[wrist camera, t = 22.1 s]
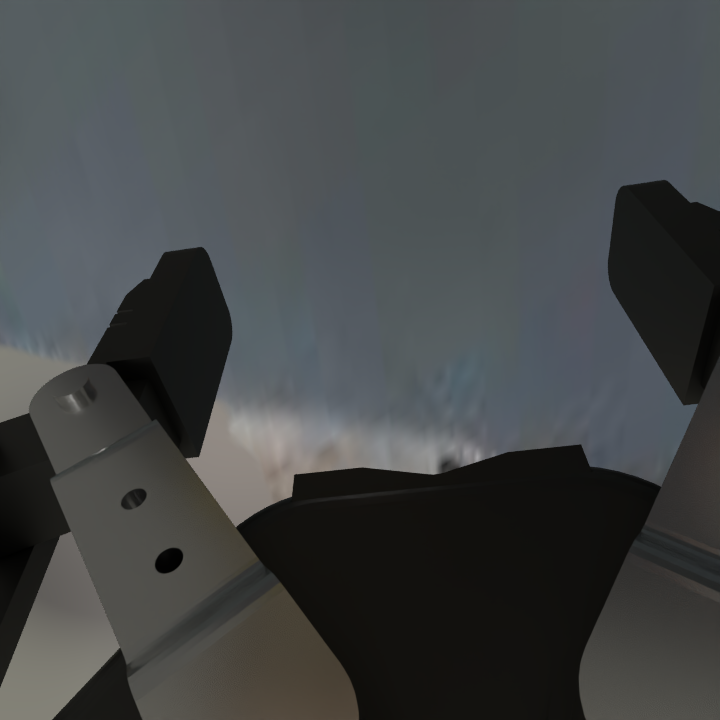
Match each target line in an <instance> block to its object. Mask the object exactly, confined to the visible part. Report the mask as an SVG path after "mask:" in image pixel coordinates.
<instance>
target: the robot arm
mask: <svg viewBox="0 0 720 720" xmlns="http://www.w3.org/2000/svg"><path fill="white" fill-rule="evenodd" d="M608 275H609V281H610V285H611V288H612V291H613V293H614V294H615V296H616V298H617V299H618V301H619V302H620V304H621V306H622V307H623V309H624V310H625V312H626V314H627V315H628V317H629V319H630V320H631V322H632V323H633V325H634V327H635V328H636V330H637V331H638V333H639V335H640V336H641V338H642V339H643V341H644V343H645V344H646V346H647V348H648V349H649V351H650V352H651V354H652V356H653V357H654V359H655V360H656V362H657V364H658V365H659V367H660V368H661V370H662V372H663V373H664V375H665V376H666V378H667V380H668V381H669V383H670V385H671V386H672V388H673V389H674V391H675V393H676V394H677V396H678V397H679V399H680V401H681V402H682V404H683V405H690V404H698V406H697V408H696V410H695V412H694V415H693V417H692V419H691V421H690V424H689V426H688V428H687V430H686V433H685V435H684V437H683V439H682V442H681V444H680V446H679V448H678V451H677V453H676V455H675V457H674V460H673V462H672V464H671V466H670V469H669V471H668V473H667V475H666V478H665V480H664V482H663V484H662V487H660V486H658V485H656V484H654V483H651V482H649V481H646V480H644V479H641V478H639V477H636V476H633V475H629V474H626V473H622V472H619V471H614V470H609V469H604V468H598V467H590V466H589V464H588V461H587V458H586V456H585V453H584V451H583V448H582V446H581V445H572V446H562V447H553V448H543V449H534V450H524V451H515V452H507V453H504V454H501V455H498V456H495V457H492V458H488V459H485V460H482V461H479V462H476V463H473V464H470V465H467V466H464V467H460V468H457V469H454V470H451V471H448V472H445V473H441V474H434V475H431V474H419V473H410V472H400V471H391V470H381V469H371V468H353V469H344V470H334V471H325V472H315V473H306V474H296V475H294V483H293V492H292V497H290V498H287V499H284V500H281V501H279V502H277V503H275V504H272V505H270V506H268V507H266V508H264V509H263V510H261V511H259V512H257V513H256V514H254V515H252V516H251V517H249V518H248V519H247V520H245V521H244V522H242V523H241V524H239V525H238V526H237V527H235V526H234V525H233V523H232V522H231V520H230V519H229V518H228V516H227V515H226V514H225V512H224V511H223V509H222V508H221V507H220V505H219V504H218V503H217V501H216V500H215V499H214V497H213V496H212V494H211V493H210V492H209V490H208V489H207V488H206V486H205V485H204V484H203V482H202V481H201V479H200V478H199V477H198V475H197V474H196V473H195V471H194V470H193V469H192V467H191V466H190V464H189V463H188V462H187V460H186V459H185V458H193V457H199V455H200V452H201V448H202V445H203V441H204V438H205V434H206V430H207V427H208V423H209V419H210V416H211V412H212V409H213V405H214V402H215V398H216V395H217V391H218V387H219V384H220V380H221V377H222V373H223V370H224V366H225V362H226V359H227V355H228V352H229V348H230V345H231V341H232V323H231V317H230V313H229V310H228V307H227V304H226V302H225V299H224V296H223V293H222V291H221V288H220V285H219V282H218V279H217V277H216V274H215V271H214V268H213V266H212V263H211V260H210V258H209V255H208V253H207V252H206V250H205V249H204V248H202V247H197V248H191V249H184V250H177V251H170V252H165V253H164V254H163V255H162V257H161V259H160V261H159V263H158V265H157V266H156V268H155V270H154V272H153V274H152V276H151V278H150V279H145V280H143V281H142V282H141V283H139V284H138V285H137V286H136V287H135V288H134V289H133V290H131V291H130V292H129V293H128V294H127V295H126V296H125V298H124V300H123V301H122V303H121V305H120V307H119V308H118V310H117V313H118V314H115V316H114V317H113V319H112V321H111V323H110V327H109V328H107V330H106V331H105V333H104V335H103V337H102V338H101V340H100V342H99V344H98V346H97V347H96V349H95V351H94V353H93V354H92V356H91V358H90V360H89V361H88V363H87V365H83V366H79V367H76V368H73V369H71V370H68V371H66V372H64V373H62V374H60V375H58V376H56V377H54V378H53V379H52V380H50V381H49V382H47V383H46V384H45V385H44V386H43V387H41V389H40V390H39V391H38V392H37V393H36V394H35V395H34V397H33V399H32V400H31V403H30V406H29V413H28V414H25V415H22V416H19V417H16V418H13V419H10V420H7V421H4V422H1V423H0V686H1V684H2V682H3V679H4V676H5V674H6V671H7V669H8V666H9V664H10V661H11V659H12V656H13V654H14V651H15V649H16V646H17V643H18V641H19V639H20V636H21V633H22V631H23V628H24V626H25V623H26V621H27V618H28V616H29V613H30V611H31V608H32V606H33V603H34V601H35V598H36V596H37V593H38V590H39V588H40V585H41V583H42V580H43V578H44V575H45V573H46V570H47V568H48V565H49V563H50V560H51V557H52V555H53V553H54V550H55V547H56V545H57V542H58V540H59V537H60V535H63V534H66V533H68V532H72V535H73V537H74V539H75V542H76V544H77V546H78V549H79V551H80V554H81V556H82V558H83V561H84V563H85V565H86V568H87V570H88V572H89V575H90V577H91V580H92V582H93V584H94V587H95V589H96V591H97V594H98V596H99V599H100V601H101V603H102V606H103V608H104V610H105V613H106V615H107V617H108V620H109V622H110V625H111V627H112V629H113V631H114V634H115V636H116V639H117V641H118V643H119V646H120V648H119V649H118V650H117V652H116V653H115V654H114V655H113V656H112V657H111V658H110V659H109V660H108V661H107V662H106V663H105V664H104V665H103V667H101V669H100V670H99V671H98V672H97V673H96V674H95V675H94V676H93V677H92V678H91V679H90V680H89V681H88V682H87V683H86V684H85V686H84V687H83V688H82V689H81V690H80V691H79V692H78V693H77V694H76V695H75V696H74V697H73V698H72V699H71V700H70V701H69V703H68V704H67V705H66V706H65V707H64V708H63V709H62V710H61V711H60V712H59V713H58V714H57V715H56V716H55V717H54V719H52V720H720V211H717V210H715V209H712V208H710V207H708V206H705V205H703V204H701V203H698V202H693V203H690V202H689V201H688V200H687V199H686V198H685V197H684V196H683V195H681V194H680V193H679V192H678V191H677V190H676V189H675V188H674V187H673V186H672V185H671V184H670V183H669V182H668V181H666V180H661V181H654V182H647V183H640V184H634V185H627V186H622V187H621V188H620V189H619V191H618V193H617V197H616V202H615V209H614V218H613V226H612V234H611V242H610V250H609V258H608Z"/></svg>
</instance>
